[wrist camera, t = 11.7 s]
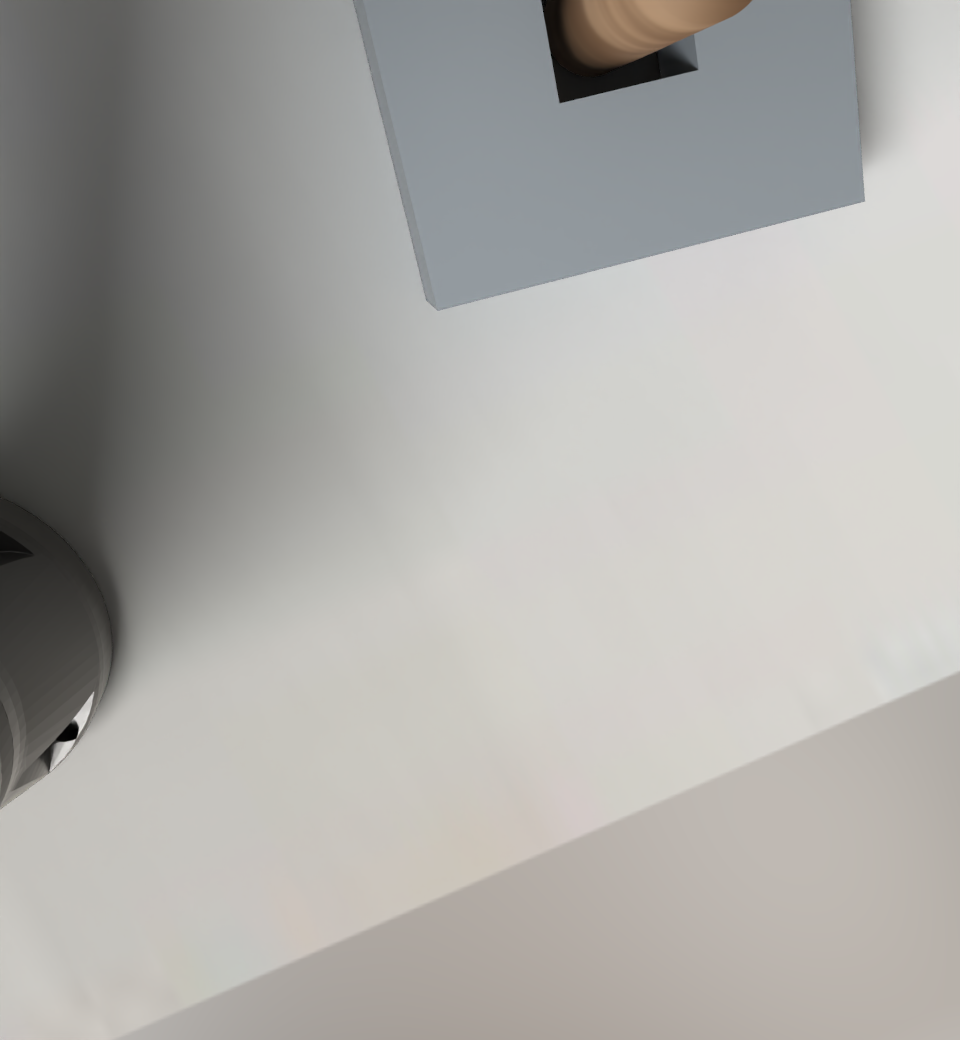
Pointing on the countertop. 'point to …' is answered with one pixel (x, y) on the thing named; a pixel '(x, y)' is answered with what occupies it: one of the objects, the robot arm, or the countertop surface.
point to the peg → (625, 29)
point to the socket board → (605, 139)
